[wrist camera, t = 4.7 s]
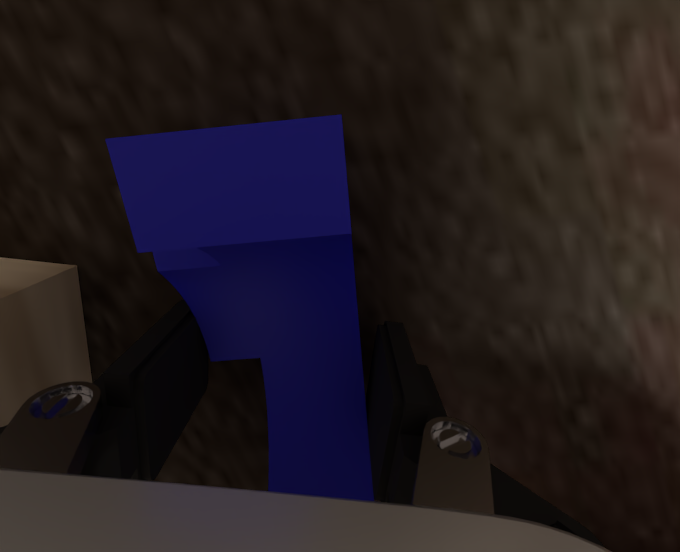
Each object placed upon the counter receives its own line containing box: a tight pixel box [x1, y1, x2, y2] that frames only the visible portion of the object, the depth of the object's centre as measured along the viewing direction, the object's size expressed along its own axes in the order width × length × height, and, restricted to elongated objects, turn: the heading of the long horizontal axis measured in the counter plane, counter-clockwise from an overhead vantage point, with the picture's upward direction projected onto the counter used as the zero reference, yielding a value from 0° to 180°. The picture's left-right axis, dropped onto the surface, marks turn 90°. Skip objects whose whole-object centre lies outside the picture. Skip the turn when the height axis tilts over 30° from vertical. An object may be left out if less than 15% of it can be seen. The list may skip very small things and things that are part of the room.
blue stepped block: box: [105, 114, 374, 501], centre depth 9 cm, size 12×4×6 cm, turn 5°
